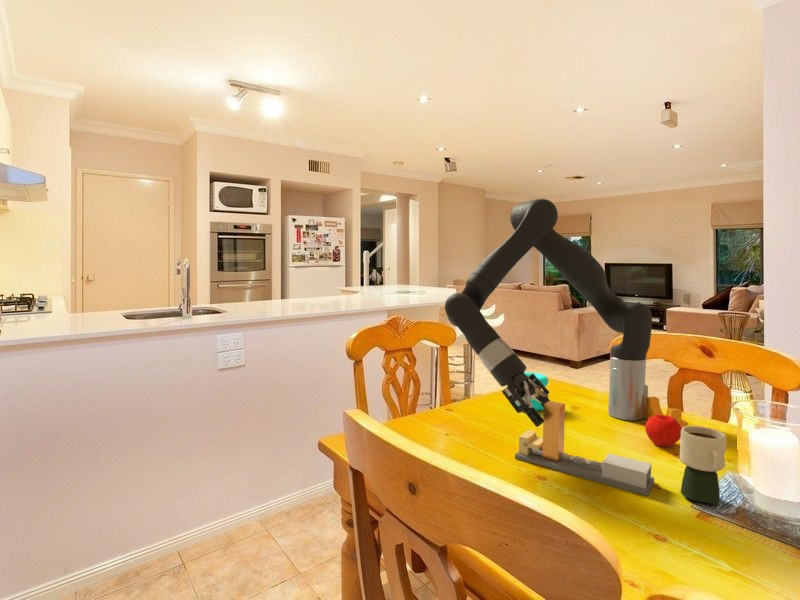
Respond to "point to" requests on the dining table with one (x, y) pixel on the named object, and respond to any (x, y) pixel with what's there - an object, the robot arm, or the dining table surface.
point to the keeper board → (613, 471)
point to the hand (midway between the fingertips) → (548, 419)
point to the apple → (663, 430)
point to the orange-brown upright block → (558, 436)
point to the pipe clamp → (655, 409)
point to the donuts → (534, 402)
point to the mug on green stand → (702, 462)
